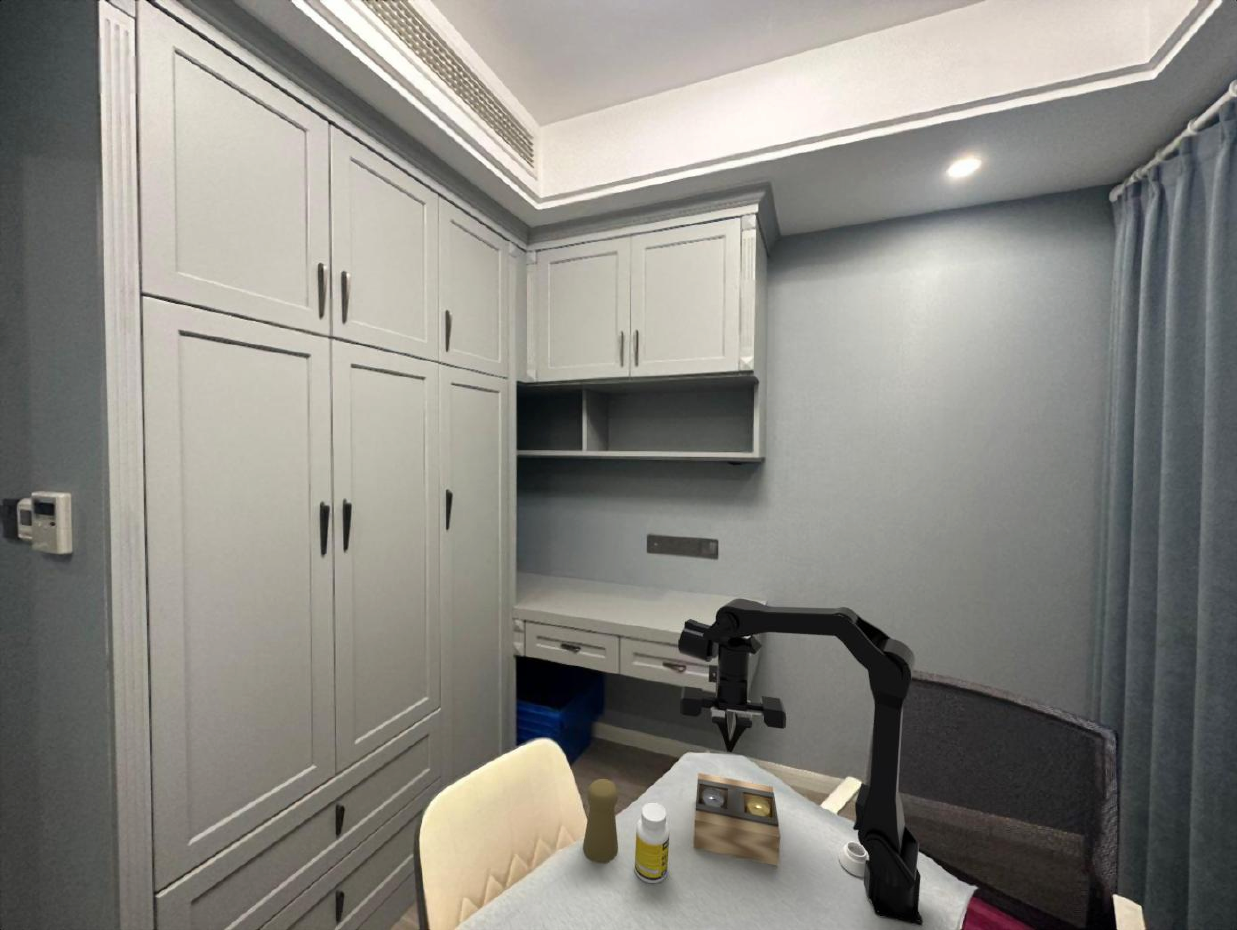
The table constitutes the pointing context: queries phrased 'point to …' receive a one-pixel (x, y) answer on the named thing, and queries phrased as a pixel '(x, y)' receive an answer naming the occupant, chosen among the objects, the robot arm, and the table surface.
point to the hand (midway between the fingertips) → (729, 750)
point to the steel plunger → (713, 798)
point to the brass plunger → (758, 807)
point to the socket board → (736, 821)
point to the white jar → (853, 858)
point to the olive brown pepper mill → (601, 822)
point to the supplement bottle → (652, 844)
